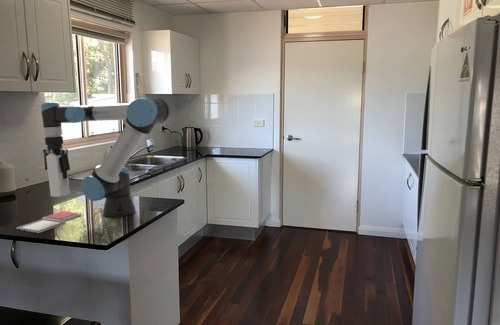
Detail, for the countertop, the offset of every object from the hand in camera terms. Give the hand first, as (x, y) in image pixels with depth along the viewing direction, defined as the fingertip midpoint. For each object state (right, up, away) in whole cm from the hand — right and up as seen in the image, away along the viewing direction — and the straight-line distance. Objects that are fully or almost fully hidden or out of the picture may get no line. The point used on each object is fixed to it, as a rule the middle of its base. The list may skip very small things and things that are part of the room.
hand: (59, 185), depth 192 cm
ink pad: (0, -16, +3) cm, 16 cm away
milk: (0, -5, +1) cm, 5 cm away
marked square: (-4, -18, -9) cm, 21 cm away
